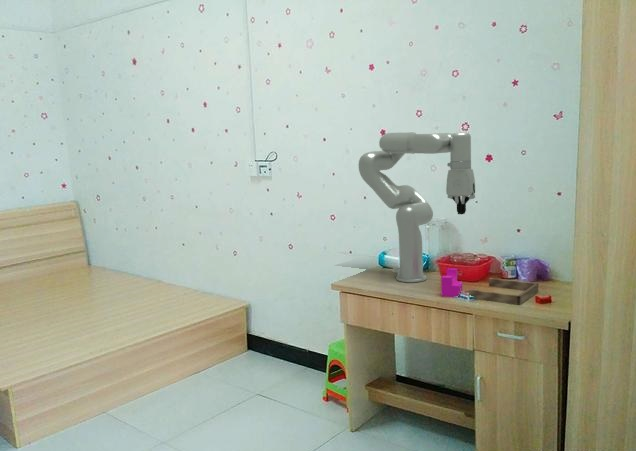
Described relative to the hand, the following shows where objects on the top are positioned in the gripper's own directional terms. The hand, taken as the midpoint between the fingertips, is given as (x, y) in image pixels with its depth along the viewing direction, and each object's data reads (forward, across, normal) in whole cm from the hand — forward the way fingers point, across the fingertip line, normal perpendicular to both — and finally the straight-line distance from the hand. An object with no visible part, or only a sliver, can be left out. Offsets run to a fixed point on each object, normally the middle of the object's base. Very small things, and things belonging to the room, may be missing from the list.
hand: (461, 213), depth 214 cm
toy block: (+30, -1, -7) cm, 30 cm away
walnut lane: (+29, +17, -2) cm, 34 cm away
